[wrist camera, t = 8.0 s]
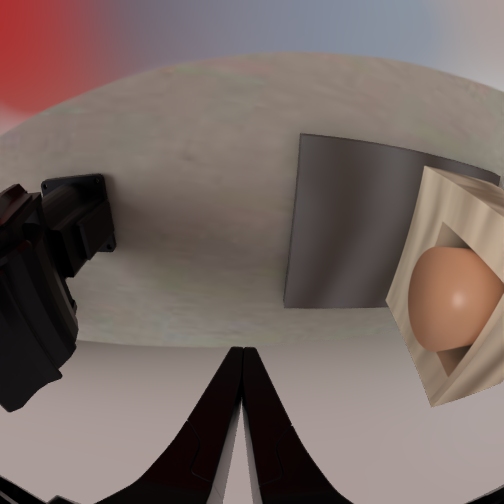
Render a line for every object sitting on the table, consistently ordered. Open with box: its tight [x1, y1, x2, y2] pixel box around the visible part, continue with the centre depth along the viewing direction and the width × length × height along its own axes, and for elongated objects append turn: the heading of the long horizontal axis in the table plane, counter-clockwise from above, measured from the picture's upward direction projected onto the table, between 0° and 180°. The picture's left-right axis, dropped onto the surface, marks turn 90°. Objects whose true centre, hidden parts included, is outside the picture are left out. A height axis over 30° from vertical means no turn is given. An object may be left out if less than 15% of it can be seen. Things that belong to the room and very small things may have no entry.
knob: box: [408, 247, 504, 352], centre depth 13 cm, size 7×6×6 cm
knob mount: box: [283, 133, 504, 407], centre depth 15 cm, size 18×14×12 cm
